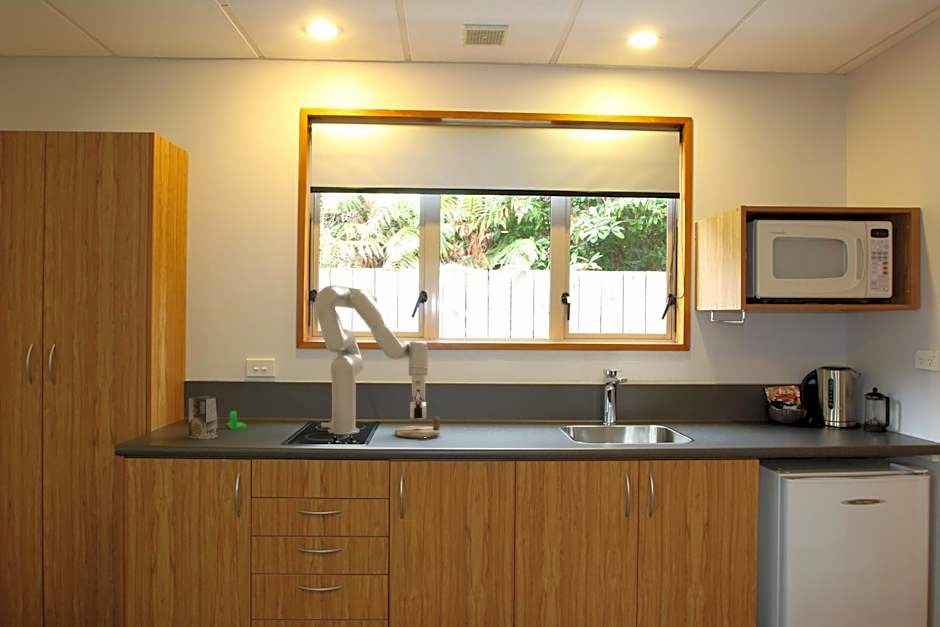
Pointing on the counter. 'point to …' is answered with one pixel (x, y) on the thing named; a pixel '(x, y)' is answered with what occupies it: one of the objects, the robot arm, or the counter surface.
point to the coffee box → (203, 417)
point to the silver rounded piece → (412, 406)
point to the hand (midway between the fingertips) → (418, 416)
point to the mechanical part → (235, 422)
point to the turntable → (420, 430)
